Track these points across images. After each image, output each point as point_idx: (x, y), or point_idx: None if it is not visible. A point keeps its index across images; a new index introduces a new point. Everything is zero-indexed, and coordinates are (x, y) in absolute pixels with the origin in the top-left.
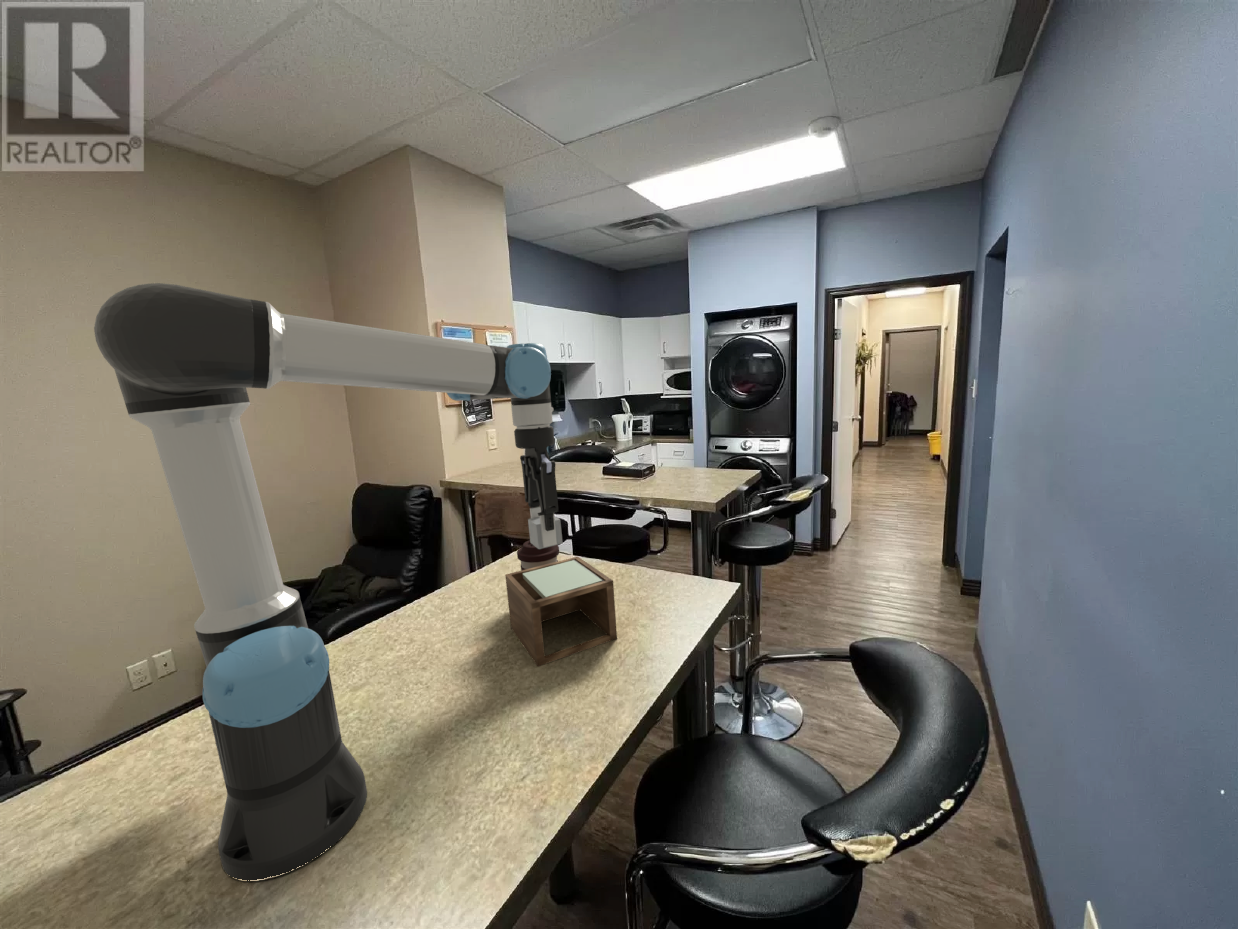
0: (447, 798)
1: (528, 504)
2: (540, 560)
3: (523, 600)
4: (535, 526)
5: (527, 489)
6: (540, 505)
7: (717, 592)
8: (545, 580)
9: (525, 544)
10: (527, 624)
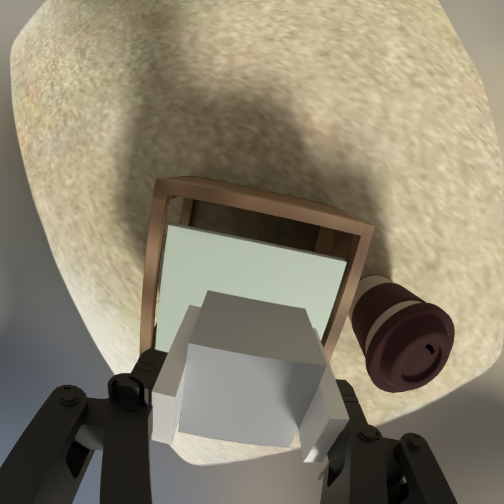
0: (83, 26)
1: (370, 432)
2: (376, 334)
3: (224, 189)
4: (205, 339)
5: (416, 499)
6: (140, 438)
7: (184, 448)
8: (256, 278)
9: (439, 338)
10: (217, 184)
